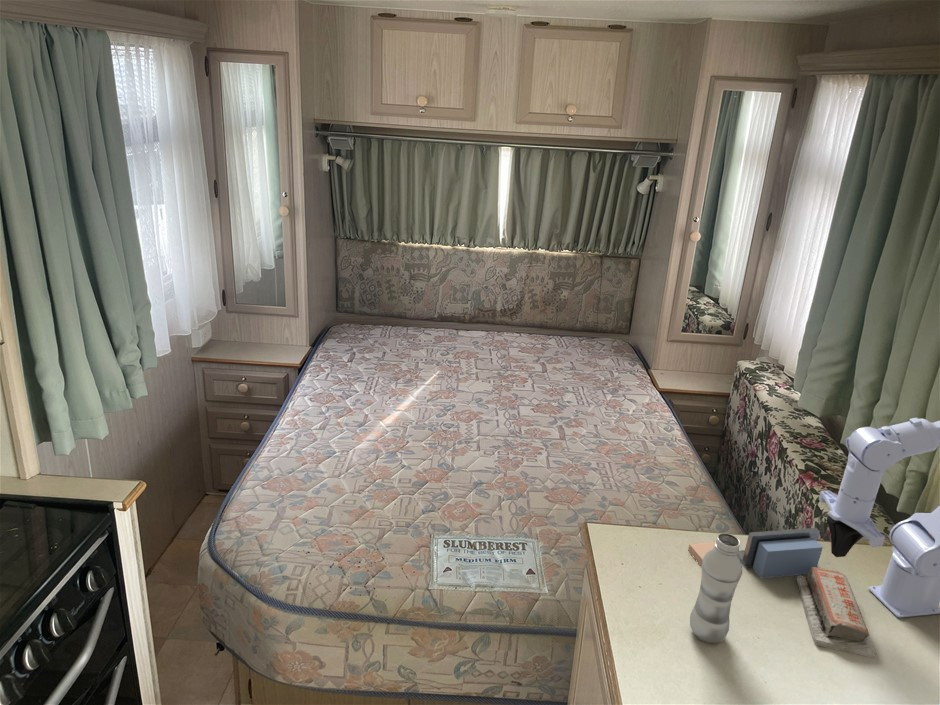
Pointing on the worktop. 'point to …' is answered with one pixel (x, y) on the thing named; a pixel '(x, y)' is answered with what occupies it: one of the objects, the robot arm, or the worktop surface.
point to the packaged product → (833, 612)
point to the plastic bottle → (717, 589)
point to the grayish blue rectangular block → (786, 557)
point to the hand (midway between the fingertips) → (838, 554)
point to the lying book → (701, 550)
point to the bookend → (755, 537)
